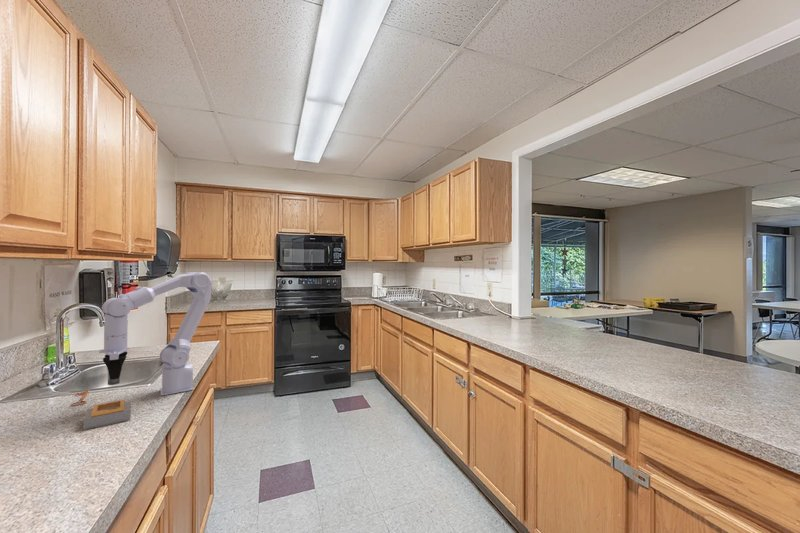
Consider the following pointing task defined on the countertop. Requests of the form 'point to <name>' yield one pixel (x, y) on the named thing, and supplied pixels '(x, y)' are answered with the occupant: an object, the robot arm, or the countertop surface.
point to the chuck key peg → (113, 380)
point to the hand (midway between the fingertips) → (115, 377)
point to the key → (81, 398)
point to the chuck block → (107, 414)
